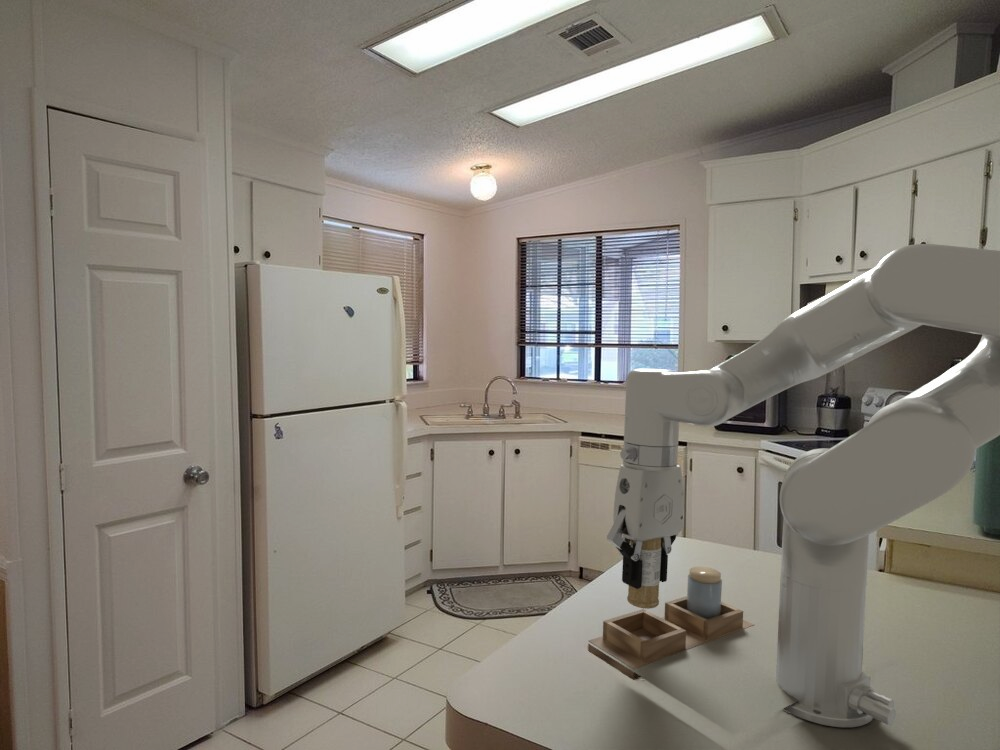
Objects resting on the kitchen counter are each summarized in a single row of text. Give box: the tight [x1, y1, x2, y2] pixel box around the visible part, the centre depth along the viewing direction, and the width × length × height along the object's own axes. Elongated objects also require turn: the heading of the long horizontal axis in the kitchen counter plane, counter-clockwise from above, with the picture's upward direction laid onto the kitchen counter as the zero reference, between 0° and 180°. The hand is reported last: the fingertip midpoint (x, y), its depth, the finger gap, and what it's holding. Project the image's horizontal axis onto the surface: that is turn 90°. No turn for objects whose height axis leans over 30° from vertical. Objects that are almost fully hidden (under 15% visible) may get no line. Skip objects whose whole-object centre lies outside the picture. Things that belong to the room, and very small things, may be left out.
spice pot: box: [686, 566, 723, 620], centre depth 95 cm, size 5×5×8 cm
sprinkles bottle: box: [626, 538, 661, 610], centre depth 87 cm, size 5×5×14 cm
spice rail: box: [587, 595, 755, 681], centre depth 91 cm, size 9×26×4 cm, turn 123°
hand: (644, 580), depth 87 cm, fingers closed on sprinkles bottle, 4 cm apart
